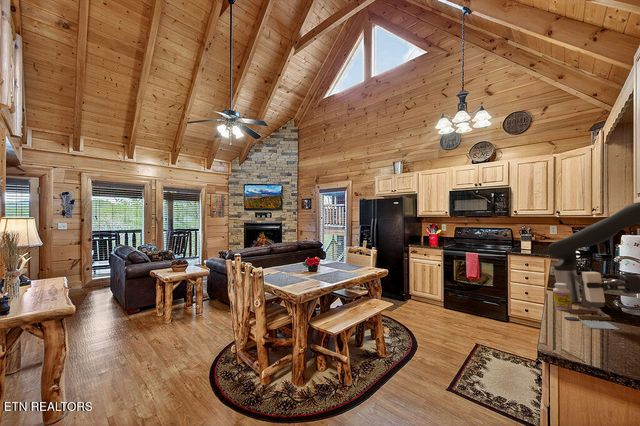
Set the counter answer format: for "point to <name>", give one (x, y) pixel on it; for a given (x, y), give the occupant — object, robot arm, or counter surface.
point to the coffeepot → (583, 300)
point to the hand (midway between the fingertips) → (584, 284)
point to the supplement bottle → (562, 297)
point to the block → (593, 293)
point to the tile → (599, 325)
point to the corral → (602, 317)
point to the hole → (572, 318)
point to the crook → (591, 308)
